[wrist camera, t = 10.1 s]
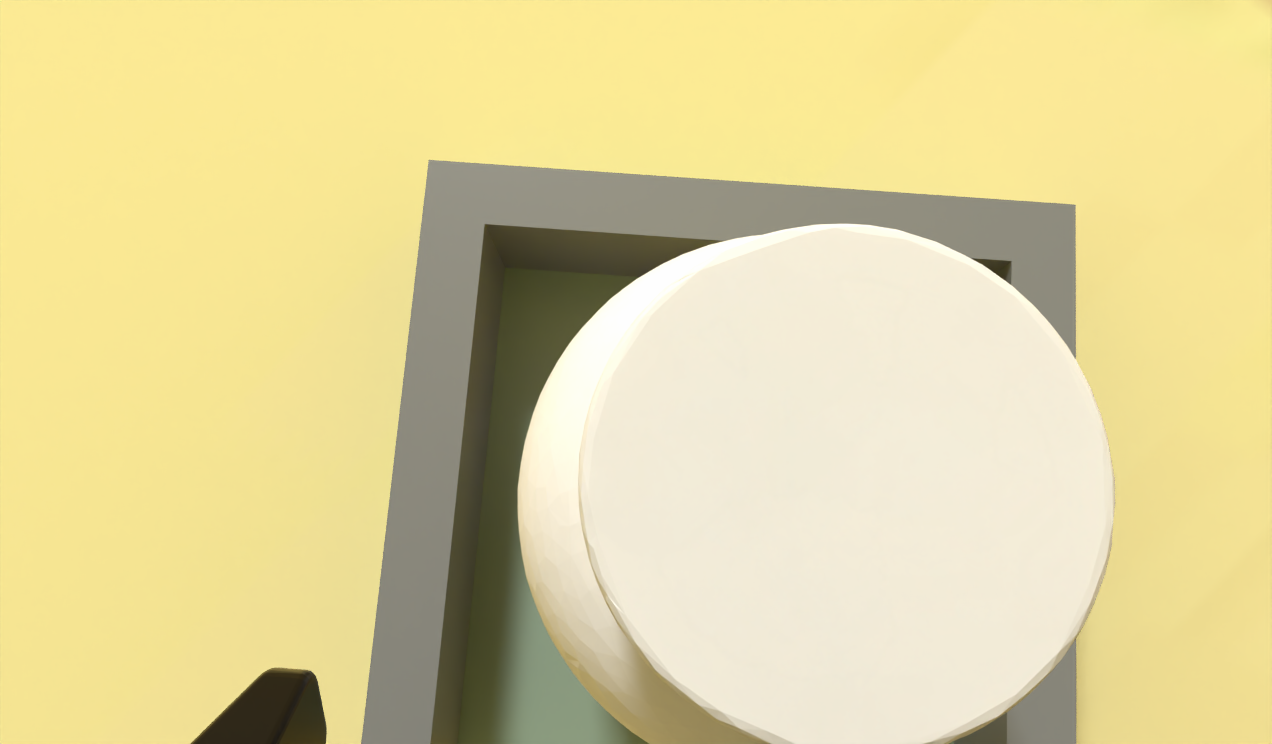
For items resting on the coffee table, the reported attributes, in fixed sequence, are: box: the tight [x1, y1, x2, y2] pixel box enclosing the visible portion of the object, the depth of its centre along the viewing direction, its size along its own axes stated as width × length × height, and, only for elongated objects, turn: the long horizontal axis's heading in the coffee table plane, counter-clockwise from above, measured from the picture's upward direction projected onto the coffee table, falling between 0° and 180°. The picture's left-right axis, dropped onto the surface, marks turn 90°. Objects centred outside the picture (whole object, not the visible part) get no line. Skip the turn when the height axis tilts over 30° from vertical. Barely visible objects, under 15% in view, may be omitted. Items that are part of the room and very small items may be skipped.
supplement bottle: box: [518, 224, 1115, 744], centre depth 15 cm, size 7×7×13 cm
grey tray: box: [361, 160, 1076, 744], centre depth 20 cm, size 11×12×4 cm
